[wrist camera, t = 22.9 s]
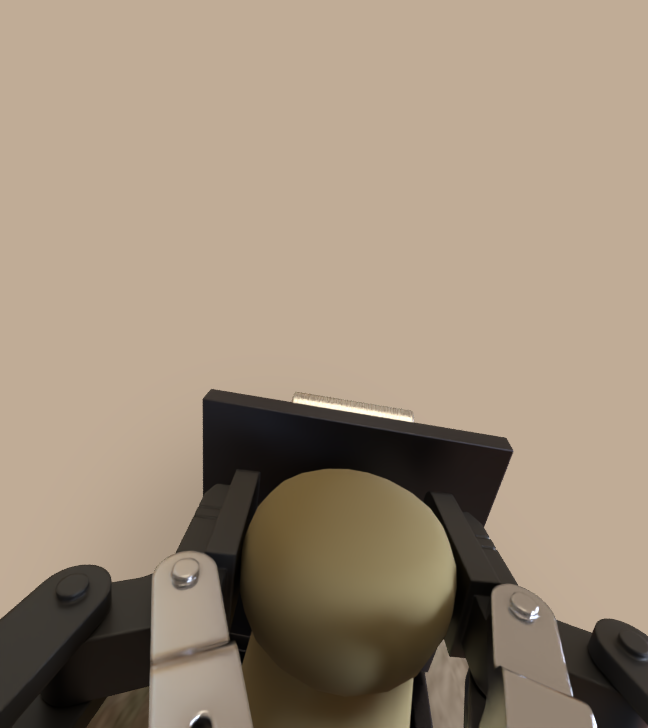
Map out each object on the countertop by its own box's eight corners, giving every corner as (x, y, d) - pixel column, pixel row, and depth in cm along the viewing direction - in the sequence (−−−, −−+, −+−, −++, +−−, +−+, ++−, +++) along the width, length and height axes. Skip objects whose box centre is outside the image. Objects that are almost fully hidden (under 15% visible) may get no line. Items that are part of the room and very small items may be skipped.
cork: (152, 905, 10) (164, 546, 7) (255, 676, 16) (284, 424, 13) (387, 1046, 9) (519, 670, 6) (406, 738, 14) (477, 472, 11)
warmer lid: (514, 450, 13) (476, 382, 18) (202, 398, 13) (246, 346, 18) (428, 673, 18) (416, 572, 23) (203, 627, 18) (237, 539, 23)
